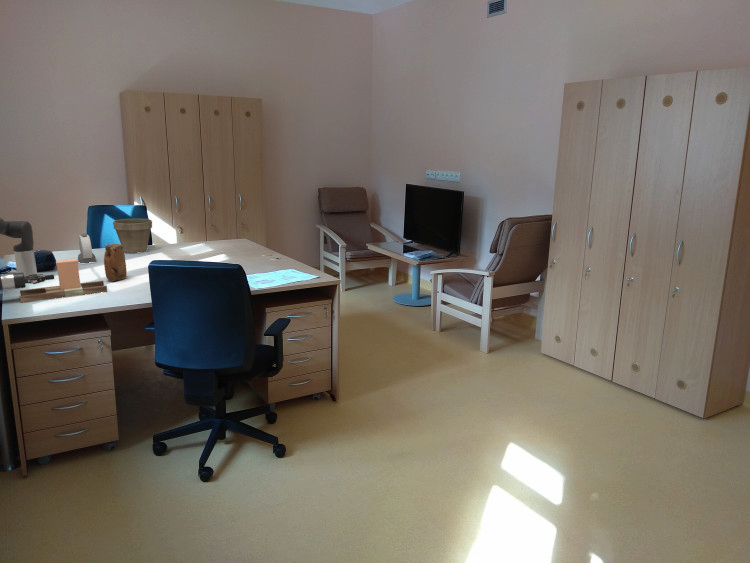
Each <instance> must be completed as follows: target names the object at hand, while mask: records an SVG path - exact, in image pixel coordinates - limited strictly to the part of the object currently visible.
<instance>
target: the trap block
mask: <svg viewBox="0 0 750 563" xmlns="http://www.w3.org/2000/svg"><path fill="white" fill-rule="evenodd" d="M55 263H56V268H57V276H58V277H57V278H58V283H59V284H58V285H59V286H60V289H61V290H66V289H74V288H81V285H80V283H81V278H80V273H79V272H80V271H79V263H78V258H71V259H69V258H68V259H59V260H58V259H57V260H56V262H55Z"/></svg>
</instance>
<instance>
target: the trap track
mask: <svg viewBox="0 0 750 563" xmlns="http://www.w3.org/2000/svg"><path fill="white" fill-rule="evenodd" d="M80 285H81V288H74V289H66V290H61V289H60V285H54V286H53V285H52V286H44V287H36V288H29V289H21V290H20V289H19V294H20V296H19V298H20V303H21V304H23V302H24V303H30V302H32V303H33V302H38V301H48V300H54V299H55V298H56V299H63V298H71V297H78V296H85V294H87V295H93V294H94V293H95V294H100V293H101V292H103V293H108V288H107V287H108V286H107V285H105V282H104V280H97V281H96V280H95V281H87V282H80ZM62 297H63V298H62ZM56 299H55V300H56Z"/></svg>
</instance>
